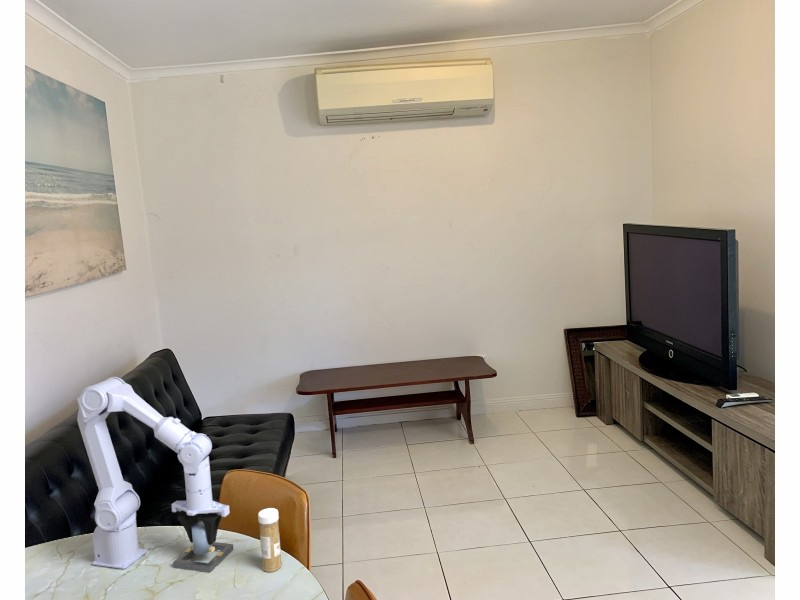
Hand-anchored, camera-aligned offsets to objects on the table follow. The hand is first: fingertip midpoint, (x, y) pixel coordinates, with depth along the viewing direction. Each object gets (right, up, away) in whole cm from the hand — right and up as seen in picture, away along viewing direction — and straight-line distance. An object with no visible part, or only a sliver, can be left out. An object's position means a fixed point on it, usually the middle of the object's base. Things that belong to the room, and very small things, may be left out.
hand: (203, 541), depth 135 cm
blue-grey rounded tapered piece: (0, -2, 0) cm, 2 cm away
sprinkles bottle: (+18, -4, -4) cm, 19 cm away
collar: (0, -4, 0) cm, 4 cm away
